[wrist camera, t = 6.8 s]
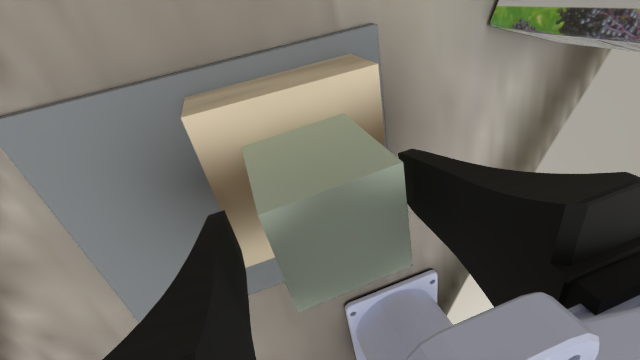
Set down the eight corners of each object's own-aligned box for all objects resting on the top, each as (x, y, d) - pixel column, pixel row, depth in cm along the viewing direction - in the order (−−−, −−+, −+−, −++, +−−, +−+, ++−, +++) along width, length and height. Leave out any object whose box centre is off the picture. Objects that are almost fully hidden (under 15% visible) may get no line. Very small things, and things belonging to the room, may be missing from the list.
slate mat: (390, 235, 23) (394, 240, 23) (148, 324, 21) (146, 332, 20) (371, 23, 16) (377, 24, 16) (-10, 118, 13) (-18, 123, 13)
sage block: (359, 197, 16) (412, 265, 12) (273, 229, 16) (298, 313, 11) (343, 113, 14) (403, 162, 10) (241, 146, 13) (257, 214, 9)
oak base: (367, 188, 20) (391, 215, 17) (240, 231, 19) (245, 267, 16) (350, 53, 16) (378, 63, 13) (184, 97, 14) (180, 117, 12)
